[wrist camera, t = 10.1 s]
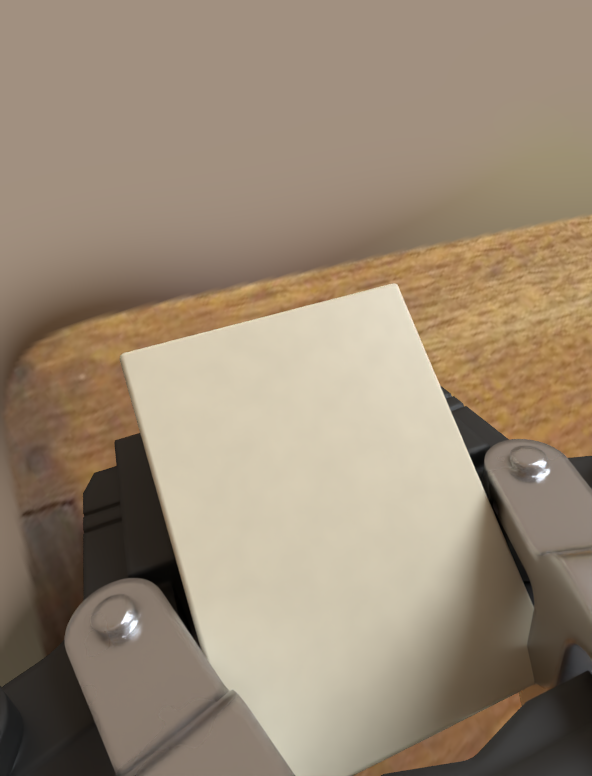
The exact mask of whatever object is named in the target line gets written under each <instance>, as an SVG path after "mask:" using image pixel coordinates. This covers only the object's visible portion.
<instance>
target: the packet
mask: <svg viewBox="0 0 592 776" xmlns="http://www.w3.org/2000/svg"><path fill="white" fill-rule="evenodd" d="M120 362H121V366H122V370H123V373H124V377H125V380H126V384H127V387H128V391H129V395H130V398H131V402H132V405H133V409H134V412H135V416H136V419H137V423H138V427H139V430H140V434H141V437H142V441H143V444H144V448H145V452H146V455H147V459H148V462H149V466H150V469H151V473H152V477H153V480H154V484H155V487H156V491H157V494H158V498H159V501H160V505H161V509H162V512H163V516H164V519H165V523H166V526H167V530H168V534H169V537H170V541H171V544H172V548H173V551H174V555H175V559H176V562H177V566H178V569H179V573H180V576H181V580H182V584H183V587H184V591H185V594H186V598H187V601H188V605H189V608H190V612H191V616H192V619H193V623H194V626H195V630H196V633H197V637H198V641H199V644H200V648H201V651H202V652H203V654H204V655H205V657H206V658H207V660H208V661H209V663H210V664H211V666H212V667H213V669H214V670H215V672H216V673H217V675H218V676H219V678H220V679H221V681H222V682H223V684H224V685H225V686H226V687H227V689H228V690H230V691H231V690H234V691H236V692H237V693H238V694H239V696H240V697H241V698H242V699H243V701H244V702H245V703H246V705H247V706H248V707H249V709H250V710H251V712H252V713H253V715H254V716H255V718H256V719H257V720H258V722H259V723H260V725H261V726H262V728H263V729H264V731H265V732H266V734H267V735H268V736H269V738H270V739H271V741H272V742H273V744H274V745H275V747H276V748H277V750H278V751H279V753H280V754H281V755H282V757H283V758H284V760H285V761H286V763H287V764H288V766H289V767H290V769H291V770H292V772H293V773H294V774H295V776H353V775H355V774H357V773H359V772H361V771H363V770H365V769H367V768H369V767H371V766H373V765H375V764H377V763H379V762H381V761H383V760H385V759H387V758H389V757H391V756H393V755H395V754H397V753H399V752H401V751H403V750H405V749H407V748H409V747H411V746H413V745H415V744H417V743H419V742H421V741H423V740H425V739H427V738H429V737H431V736H433V735H435V734H437V733H439V732H441V731H443V730H445V729H447V728H449V727H451V726H453V725H455V724H456V723H458V722H460V721H462V720H464V719H466V718H468V717H470V716H472V715H474V714H476V713H478V712H480V711H482V710H484V709H486V708H488V707H490V706H492V705H494V704H496V703H498V702H500V701H502V700H504V699H506V698H508V697H510V696H512V695H514V694H516V693H518V692H520V691H522V690H524V689H526V688H528V687H530V686H532V685H534V684H535V683H534V676H533V672H532V667H531V662H530V658H529V653H528V648H527V642H528V636H529V631H530V626H531V621H532V616H533V611H534V607H533V604H532V602H531V600H530V597H529V595H528V592H527V590H526V588H525V585H524V583H523V581H522V578H521V576H520V574H519V571H518V569H517V566H516V564H515V562H514V559H513V557H512V555H511V552H510V550H509V548H508V545H507V543H506V540H505V538H504V536H503V533H502V531H501V529H500V526H499V524H498V522H497V519H496V517H495V514H494V512H493V510H492V507H491V505H490V503H489V500H488V498H487V496H486V493H485V491H484V488H483V486H482V484H481V481H480V479H479V477H478V474H477V472H476V470H475V467H474V465H473V462H472V460H471V458H470V455H469V453H468V451H467V448H466V446H465V444H464V441H463V439H462V436H461V434H460V432H459V429H458V427H457V425H456V422H455V420H454V418H453V415H452V413H451V410H450V408H449V406H448V403H447V401H446V399H445V396H444V394H443V392H442V389H441V387H440V384H439V382H438V380H437V377H436V375H435V373H434V370H433V368H432V366H431V363H430V361H429V358H428V356H427V354H426V351H425V349H424V347H423V344H422V342H421V339H420V337H419V335H418V332H417V330H416V328H415V325H414V323H413V321H412V318H411V316H410V313H409V311H408V309H407V306H406V304H405V302H404V299H403V297H402V295H401V292H400V290H399V287H398V285H397V284H390V285H386V286H382V287H378V288H374V289H370V290H367V291H363V292H359V293H355V294H351V295H347V296H343V297H339V298H336V299H332V300H328V301H324V302H320V303H316V304H312V305H308V306H305V307H301V308H297V309H293V310H289V311H285V312H281V313H278V314H274V315H270V316H266V317H262V318H258V319H254V320H250V321H247V322H243V323H239V324H235V325H231V326H227V327H223V328H219V329H216V330H212V331H208V332H204V333H200V334H196V335H192V336H189V337H185V338H181V339H177V340H173V341H169V342H165V343H161V344H158V345H154V346H150V347H146V348H142V349H138V350H134V351H131V352H127V353H123V354H122V355H120Z"/></svg>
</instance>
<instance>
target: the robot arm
mask: <svg viewBox="0 0 592 776" xmlns="http://www.w3.org/2000/svg"><path fill="white" fill-rule="evenodd" d="M440 387H441V386H440ZM441 389H442V392H443V394H444V396H445V399H446V401H447V403H448V406H449V408H450V410H451V413H452V415H453V418H454V420H455V422H456V425H457V427H458V429H459V432H460V434H461V436H462V439H463V441H464V444H465V446H466V448H467V451H468V453H469V455H470V458H471V460H472V462H473V465H474V467H475V470H476V472H477V474H478V477H479V479H480V481H481V484H482V486H483V488H484V491H485V493H486V496H487V498H488V500H489V503H490V505H491V507H492V510H493V512H494V514H495V517H496V519H497V522H498V524H499V526H500V529H501V531H502V533H503V536H504V538H505V540H506V543H507V545H508V548H509V550H510V552H511V555H512V557H513V559H514V562H515V564H516V566H517V569H518V571H519V574H520V576H521V578H522V581H523V583H524V585H525V588H526V590H527V592H528V595H529V597H530V600H531V602H532V604H533V607H534V611H533V616H532V621H531V626H530V631H529V636H528V642H527V648H528V653H529V658H530V662H531V667H532V672H533V676H534V683H535V684H534V685H532V686H530V687H528V688H526V689H524V690H522V691H520V692H519V696H520V701H521V705H522V707H521V708H520V709H519V710H518V711H517V712H516V713H515V714H514V715H513V716H512V717H511V718H510V720H509V721H508V722H507V723H506V724H505V725H504V726H503V727H502V728H501V729H500V730H499V731H498V732H497V733H496V734H495V736H494V737H493V738H492V739H491V740H490V741H489V742H488V743H487V744H486V745H485V746H484V747H483V748H482V749H481V750H480V752H479V753H478V754H476V755H475V756H474V757H473V758H471V759H469V760H466V761H462V762H455V763H449V764H443V765H437V766H431V767H425V768H419V769H413V770H406V771H400V772H394V773H388V774H383V775H381V776H592V456H585V457H574V458H567V457H566V456H565V455H564V454H563V453H561V452H560V451H559V450H557V449H555V448H554V447H552V446H549V445H547V444H544V443H541V442H538V441H534V440H527V439H511V440H509V439H507V438H506V437H505V436H504V435H502V434H501V433H500V432H498V431H497V430H496V429H495V428H493V427H492V426H491V425H490V424H488V423H487V422H486V421H485V420H483V419H482V418H481V417H479V416H478V415H477V414H476V413H474V412H473V411H472V410H471V409H469V408H468V407H467V406H465V407H464V405H463V403H462V402H460V401H459V400H458V399H457V398H455V397H454V396H453V397H452V396H451V394H450V393H449V392H448V391H447V390H445V389H444V388H443V387H441ZM115 453H116V463H117V466H115V467H112V468H109V469H106V470H102V471H99V472H96V473H94V474H93V476H92V478H91V480H90V482H89V484H88V486H87V487H86V489H85V491H84V493H83V514H84V517H83V530H84V534H83V574H84V598H83V602H82V603H81V604H80V606H79V607H78V608H77V609H76V611H75V612H74V614H73V615H72V617H71V619H70V621H69V623H68V626H67V628H66V633H65V639H64V640H63V642H62V643H61V644H60V645H59V646H58V647H57V648H56V649H55V650H53V651H52V652H51V653H50V654H49V655H48V656H46V657H45V658H44V659H42V660H41V661H39V662H38V663H37V664H35V665H34V666H32V667H31V668H29V669H28V670H26V671H25V672H23V673H22V674H20V675H19V676H17V677H16V678H14V679H13V680H11V681H10V682H9V683H7V684H6V685H4V686H3V687H1V686H0V776H295V774H294V773H293V772H292V770H291V769H290V767H289V766H288V764H287V763H286V761H285V760H284V758H283V757H282V755H281V754H280V753H279V751H278V750H277V748H276V747H275V745H274V744H273V742H272V741H271V739H270V738H269V736H268V735H267V734H266V732H265V731H264V729H263V728H262V726H261V725H260V723H259V722H258V720H257V719H256V718H255V716H254V715H253V713H252V712H251V710H250V709H249V707H248V706H247V705H246V703H245V702H244V701H243V699H242V698H241V697H240V696H239V694H238V693H237V692H236V691H234V690H231V691H230V690H228V689H227V687H226V686H225V685H224V684H223V682H222V681H221V679H220V678H219V676H218V675H217V673H216V672H215V670H214V669H213V667H212V666H211V664H210V663H209V661H208V660H207V658H206V657H205V655H204V654H203V652H202V651H201V648H200V644H199V641H198V637H197V633H196V630H195V626H194V623H193V619H192V616H191V612H190V608H189V605H188V601H187V598H186V594H185V591H184V587H183V584H182V580H181V576H180V573H179V569H178V566H177V562H176V559H175V555H174V551H173V548H172V544H171V541H170V537H169V534H168V530H167V526H166V523H165V519H164V516H163V512H162V509H161V505H160V501H159V498H158V494H157V491H156V487H155V484H154V480H153V477H152V473H151V469H150V466H149V462H148V459H147V455H146V452H145V448H144V444H143V441H142V437H141V434H140V433H138V434H135V435H132V436H128V437H125V438H122V439H118V440H115Z"/></svg>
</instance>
